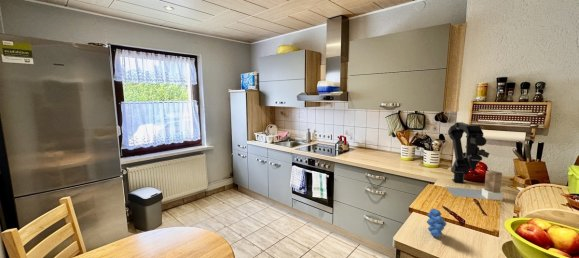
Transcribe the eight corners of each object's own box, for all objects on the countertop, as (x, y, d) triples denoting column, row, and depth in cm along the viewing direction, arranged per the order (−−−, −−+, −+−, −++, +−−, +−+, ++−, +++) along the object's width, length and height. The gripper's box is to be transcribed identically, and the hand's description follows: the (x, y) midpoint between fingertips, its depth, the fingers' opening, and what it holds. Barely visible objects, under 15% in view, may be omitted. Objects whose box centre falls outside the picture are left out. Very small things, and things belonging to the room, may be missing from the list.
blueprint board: (444, 187, 156) (445, 180, 155) (488, 191, 149) (489, 184, 149) (453, 196, 141) (454, 189, 140) (503, 201, 134) (504, 193, 133)
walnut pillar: (484, 189, 140) (486, 171, 138) (490, 188, 141) (492, 170, 140) (493, 192, 135) (495, 173, 134) (500, 191, 136) (502, 172, 135)
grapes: (452, 246, 93) (454, 216, 92) (433, 244, 95) (435, 214, 93) (439, 230, 105) (441, 203, 103) (422, 228, 106) (424, 202, 105)
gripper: (493, 146, 138) (492, 173, 138) (483, 144, 155) (482, 169, 155) (469, 145, 143) (469, 171, 143) (462, 143, 160) (461, 167, 160)
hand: (471, 170), depth 150 cm, fingers open, 9 cm apart
